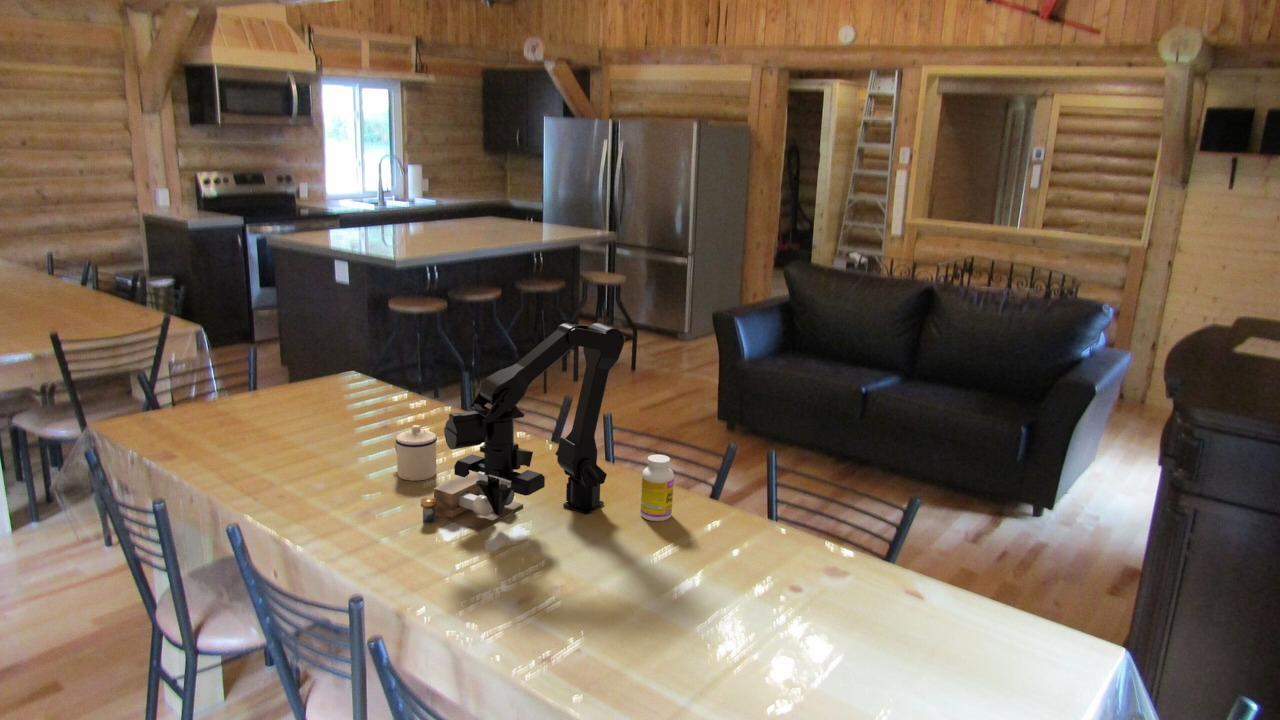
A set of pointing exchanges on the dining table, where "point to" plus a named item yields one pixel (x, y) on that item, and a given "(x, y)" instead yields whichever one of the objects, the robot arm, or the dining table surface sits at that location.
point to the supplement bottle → (657, 489)
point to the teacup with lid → (416, 454)
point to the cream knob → (475, 503)
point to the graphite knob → (509, 500)
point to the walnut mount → (461, 515)
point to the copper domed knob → (428, 509)
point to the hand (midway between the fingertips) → (498, 514)
